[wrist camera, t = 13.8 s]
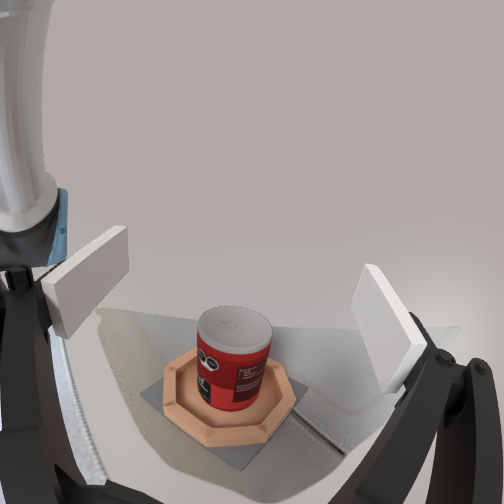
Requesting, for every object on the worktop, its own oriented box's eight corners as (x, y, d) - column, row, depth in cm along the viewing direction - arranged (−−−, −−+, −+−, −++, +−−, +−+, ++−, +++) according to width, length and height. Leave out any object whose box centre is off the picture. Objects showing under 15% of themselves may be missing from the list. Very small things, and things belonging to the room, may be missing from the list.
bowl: (139, 393, 31) (137, 383, 30) (217, 339, 43) (218, 330, 43) (241, 469, 23) (243, 462, 22) (308, 387, 36) (311, 378, 35)
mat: (140, 395, 31) (139, 393, 31) (217, 341, 44) (217, 339, 43) (241, 470, 23) (241, 469, 23) (307, 389, 36) (308, 387, 36)
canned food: (202, 365, 37) (204, 300, 33) (259, 373, 37) (272, 309, 33) (191, 407, 30) (190, 342, 26) (257, 417, 30) (274, 353, 26)
